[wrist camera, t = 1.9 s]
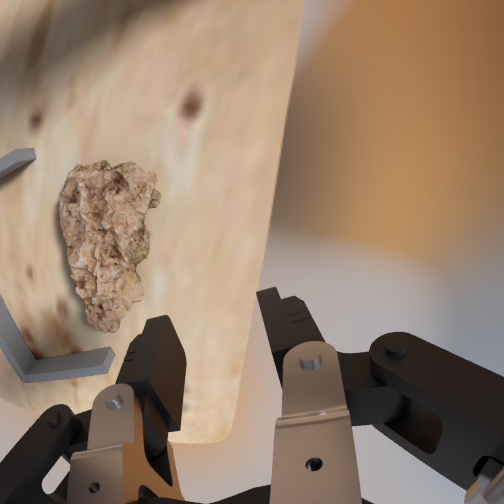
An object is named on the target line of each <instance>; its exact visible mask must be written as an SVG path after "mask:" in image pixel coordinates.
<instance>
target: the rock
mask: <svg viewBox="0 0 504 504" xmlns="http://www.w3.org/2000/svg"><path fill="white" fill-rule="evenodd" d="M157 182H158V180H157V178H156V174H155V172H153V171H149V172H146V171H144V170H143V169H141V168H140V167H139V166H137V165H136V163H135V162H128V163H122V164H119V165H117V166H116V167H113V168H112V167H111V166H110V164H109V163H108V162H107V161H106V160H101V161H98V162H96V163H93V164H92V165H90V166H84V165H77V164H76V166H75V168H74V169H73V170H71V172H70V173H69V174H68V176H67V180H66V181H65V183H66V184H65V187H64V190H63V191H62V192H61V193H60V196H59V217H60V225H61V228H62V230H63V236H64V238H65V241H66V245H67V246H68V249H67V260H68V263H69V266H70V268H71V278H72V279H73V282H74V285H75V287H74V290H75V294H78V295H80V297H81V298H82V299H83V302H84V303H85V306H86V310H85V312H86V315H87V322H88V323H89V324H90V325H93V326H94V327H95V329H96V330H99V331H103V332H105V333H107V332H110V333H114V332H117V330H118V329H119V325H120V322H121V321H120V319H122V318H123V317H124V316H125V314H127V313H128V312H129V310H130V308H131V306H132V304H133V303H134V302H140V301H141V298H142V296H143V294H144V290H143V287H142V284H141V278H140V276H139V275H138V274H137V273H136V267H137V264H138V263H140V262H141V261H142V260H143V259H145V258H147V255H148V252H149V249H150V241H149V238H150V232H149V231H147V230H146V226H145V224H144V219H145V215H146V212H147V209H148V208H150V207H157V206H158V205H159V203H160V200H161V194H160V193H159V192H158V191H156V190H155V189H154V187H155V186H156V184H157Z"/></svg>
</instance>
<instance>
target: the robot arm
mask: <svg viewBox="0 0 504 504" xmlns="http://www.w3.org/2000/svg"><path fill="white" fill-rule="evenodd" d="M256 294H257V298H258V302H259V306H260V309H261V313H262V317H263V321H264V325H265V329H266V332H267V336H268V340H269V344H270V348H271V352H272V355H273V359H274V362H275V366H276V369H277V373H278V376H279V380H280V384H281V387H282V391H283V393H282V417H281V418H277V420H276V424H275V434H274V451H273V466H272V480H271V485H266V486H261V487H256V488H252V489H250V490H247V491H245V492H242V493H239V494H237V495H234V496H231V497H228V498H226V499H223V500H220V501H217V502H214V503H210V504H373V503H371V502H369V501H367V500H365V499H363V498H361V491H360V482H359V475H358V467H357V459H356V453H355V446H354V439H353V432H352V426H361V425H371V424H372V425H373V426H374V427H375V428H376V429H377V430H378V431H380V432H381V433H383V434H384V435H385V436H387V437H388V438H389V439H391V440H392V441H394V442H395V443H397V444H398V445H399V446H401V447H402V448H403V449H405V450H406V451H408V452H409V453H410V454H412V455H413V456H415V457H416V458H418V459H419V460H421V461H422V462H423V463H425V464H426V465H428V466H429V467H431V468H432V469H434V470H435V471H437V472H438V473H440V474H441V475H443V476H445V477H446V478H447V479H449V480H450V481H452V482H454V483H455V484H457V485H458V486H460V487H462V488H463V489H465V490H466V491H467V492H466V495H465V500H464V504H504V377H503V376H501V375H499V374H496V373H494V372H492V371H490V370H488V369H486V368H483V367H481V366H479V365H477V364H475V363H473V362H470V361H468V360H466V359H464V358H462V357H459V356H457V355H455V354H453V353H451V352H449V351H447V350H444V349H442V348H440V347H438V346H436V345H434V344H431V343H429V342H427V341H425V340H423V339H420V338H419V337H416V336H414V335H412V334H409V333H406V332H392V333H387V334H384V335H382V336H380V337H378V338H377V339H376V340H375V341H374V342H373V343H372V344H371V346H370V350H369V352H361V353H341V352H338V351H336V350H335V348H334V347H333V346H332V345H330V344H328V343H326V342H325V340H324V339H323V337H322V335H321V333H320V331H319V329H318V327H317V325H316V323H315V321H314V320H313V318H312V316H311V314H310V312H309V311H308V308H307V307H306V304H305V303H304V301H303V300H301V299H299V298H297V297H296V296H291V297H288V298H284V299H281V298H280V296H279V293H278V291H277V288H276V287H272V288H269V289H265V290H261V291H258V292H256ZM186 365H187V362H186V355H185V352H184V349H183V347H182V344H181V342H180V340H179V338H178V336H177V333H176V331H175V329H174V326H173V324H172V322H171V320H170V318H169V316H168V315H163V316H159V317H155V318H151V319H148V320H147V321H146V324H145V327H144V330H143V332H142V334H139V335H137V336H136V337H135V339H134V340H133V341H132V342H131V343H130V345H129V347H128V350H127V355H125V358H124V362H123V364H122V366H121V369H120V372H119V375H118V377H117V380H116V383H115V384H114V385H111V386H109V387H107V388H105V389H104V390H102V391H101V392H100V393H99V394H98V395H97V396H96V398H95V399H94V402H93V406H92V409H91V410H88V411H85V412H82V413H79V414H76V415H75V414H74V413H73V412H72V410H71V409H70V408H69V407H68V406H67V405H64V404H58V405H54V406H52V407H50V408H49V409H47V410H46V411H45V412H44V413H43V414H42V415H41V416H40V417H39V418H38V419H37V420H36V422H35V423H34V424H33V425H32V426H31V427H30V428H29V430H28V431H27V432H26V433H25V434H24V435H23V436H22V438H21V439H20V440H19V441H18V442H17V443H16V445H15V446H14V447H13V448H12V449H11V451H10V452H9V453H8V454H7V455H6V456H5V458H4V459H3V460H2V461H1V462H0V504H202V503H195V502H188V501H185V499H184V498H183V496H182V494H181V491H180V486H179V481H178V476H177V471H176V466H175V460H174V454H173V448H172V445H171V444H170V442H169V441H168V432H174V431H180V429H181V417H182V405H183V395H184V384H185V375H186ZM60 456H62V457H63V458H64V459H65V460H66V461H67V462H68V463H69V464H70V471H69V472H68V473H67V475H66V476H65V477H64V479H63V480H62V482H61V483H60V484H59V486H58V487H57V488H56V490H55V491H54V492H53V493H51V494H45V492H44V491H43V489H42V480H43V478H44V477H45V476H46V475H47V473H48V472H49V471H50V469H51V468H52V467H53V466H54V464H55V463H56V462H57V460H58V459H59V458H60Z"/></svg>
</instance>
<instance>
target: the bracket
mask: <svg viewBox="0 0 504 504" xmlns="http://www.w3.org/2000/svg"><path fill="white" fill-rule="evenodd" d="M34 159H36V156H35V152H34V148H27V149H16V150H14V151H12V152H10V153H9V154H7V155H6V156H4V157H2V158H1V159H0V179H1V178H3V177H5V176H6V175H8V174H10V173H11V172H13V171H15V170H16V169H18V168H20V167H22V166H23V165H25V164H27V163H29V162H31V161H33V160H34ZM0 348H1V349H2V351H3V353H4V354H5V356H6V357H7V359H8V361H9V362H10V364H11V365H12V367H13V368H14V370H15V371H16V373H17V374H18V376H19V377H20V379H21V380H22V382H23V383H29V382H41V381H51V380H60V379H69V378H77V377H85V376H92V375H99V374H106V373H108V371H109V368H110V366H111V363H112V361H113V358H114V356H115V354H114V352H113V350H112V348H111V347H107V348H102V349H96V350H91V351H85V352H80V353H74V354H68V355H62V356H56V357H50V358H43V359H37V360H36V359H35V358H34V356H33V354H32V353H31V351H30V349H29V348H28V346H27V344H26V343H25V341H24V339H23V337H22V336H21V334H20V332H19V330H18V328H17V327H16V325H15V323H14V321H13V319H12V317H11V315H10V313H9V311H8V309H7V307H6V305H5V303H4V301H3V299H2V297H1V295H0Z"/></svg>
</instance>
